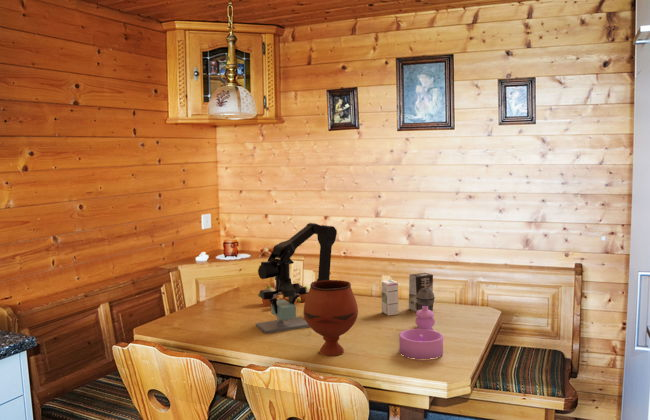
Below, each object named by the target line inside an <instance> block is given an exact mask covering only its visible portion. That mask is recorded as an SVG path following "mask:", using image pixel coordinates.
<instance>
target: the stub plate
mask: <svg viewBox="0 0 650 420" xmlns="http://www.w3.org/2000/svg"><path fill="white" fill-rule="evenodd" d="M255 327H256V328H258V329H259V330H260V331H261V332H263V333H264V334H265V335H267V334H273V333H274V334H275V333H280V332H281V333H282V332H288V331H292V330H300V329H305V328H306V329H307V328H311V327H310V326H309V325H308V324H307V322H306V320H305V318H302V317H301V316H296V318H294V319H287V320H281V319H280V318H278V317H277V316H276V320H275V319H274V320H269V321H261V322H255Z"/></svg>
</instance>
